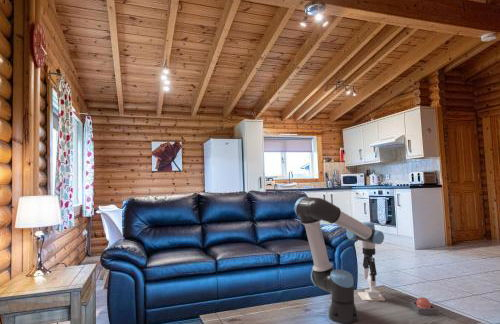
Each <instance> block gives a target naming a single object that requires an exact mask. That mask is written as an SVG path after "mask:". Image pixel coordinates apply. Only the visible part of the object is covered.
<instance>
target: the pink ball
mask: <svg viewBox="0 0 500 324" xmlns="http://www.w3.org/2000/svg"><path fill="white" fill-rule="evenodd" d="M415 302H416V306H417V307H419V308H431V304H432V303H431V302H430V300H429V299H428V298H427V297H423V296H422V297H419V298H417V300H416V301H415ZM430 303H431V304H430Z"/></svg>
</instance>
